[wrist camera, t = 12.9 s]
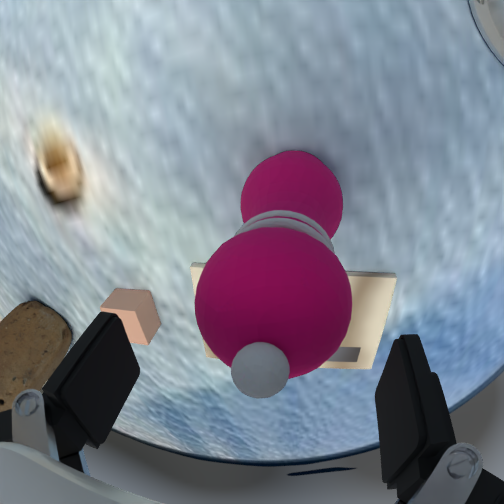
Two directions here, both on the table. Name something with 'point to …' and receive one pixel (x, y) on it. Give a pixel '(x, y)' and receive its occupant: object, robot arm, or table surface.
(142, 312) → the block
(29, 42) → the table surface
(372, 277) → the board
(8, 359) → the block
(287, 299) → the pepper mill
